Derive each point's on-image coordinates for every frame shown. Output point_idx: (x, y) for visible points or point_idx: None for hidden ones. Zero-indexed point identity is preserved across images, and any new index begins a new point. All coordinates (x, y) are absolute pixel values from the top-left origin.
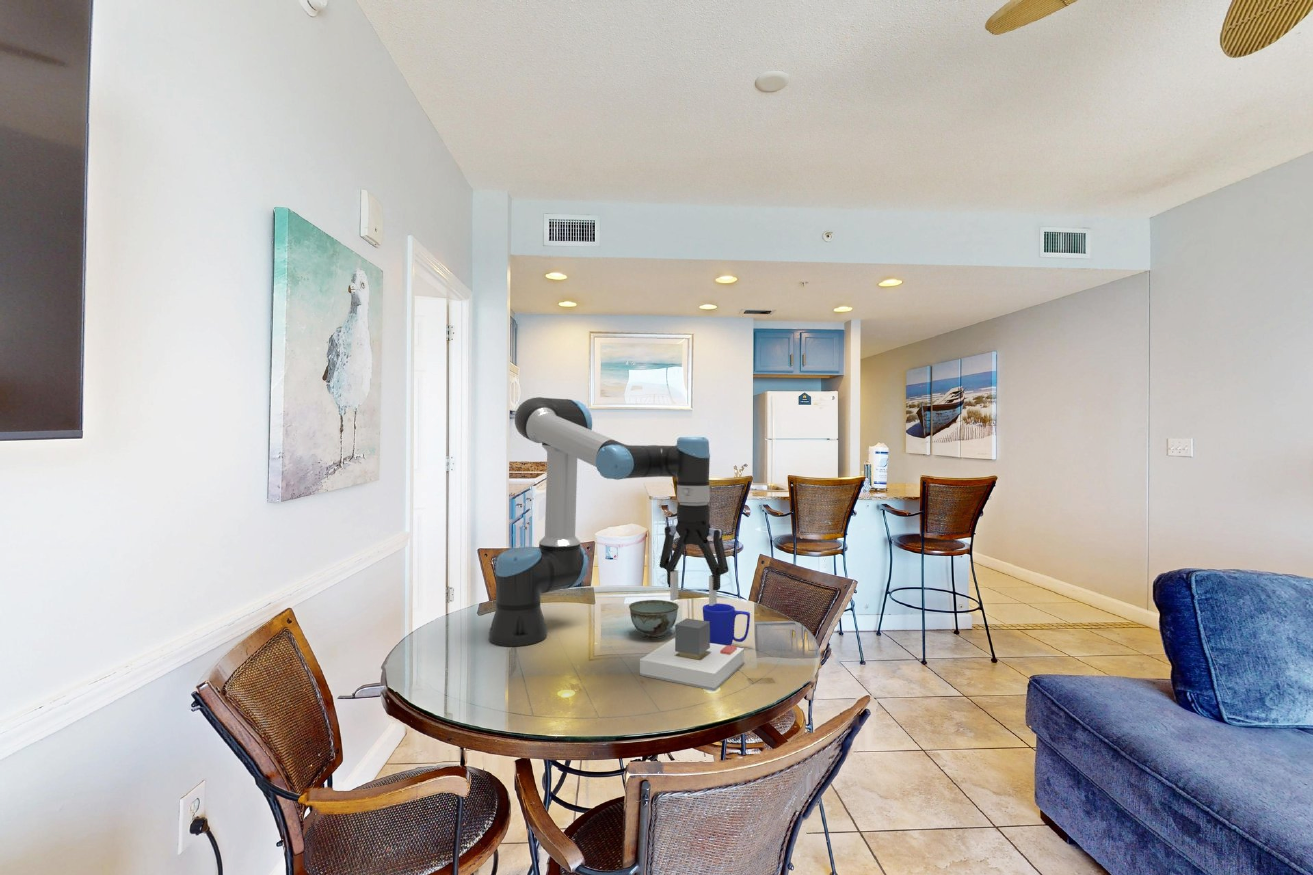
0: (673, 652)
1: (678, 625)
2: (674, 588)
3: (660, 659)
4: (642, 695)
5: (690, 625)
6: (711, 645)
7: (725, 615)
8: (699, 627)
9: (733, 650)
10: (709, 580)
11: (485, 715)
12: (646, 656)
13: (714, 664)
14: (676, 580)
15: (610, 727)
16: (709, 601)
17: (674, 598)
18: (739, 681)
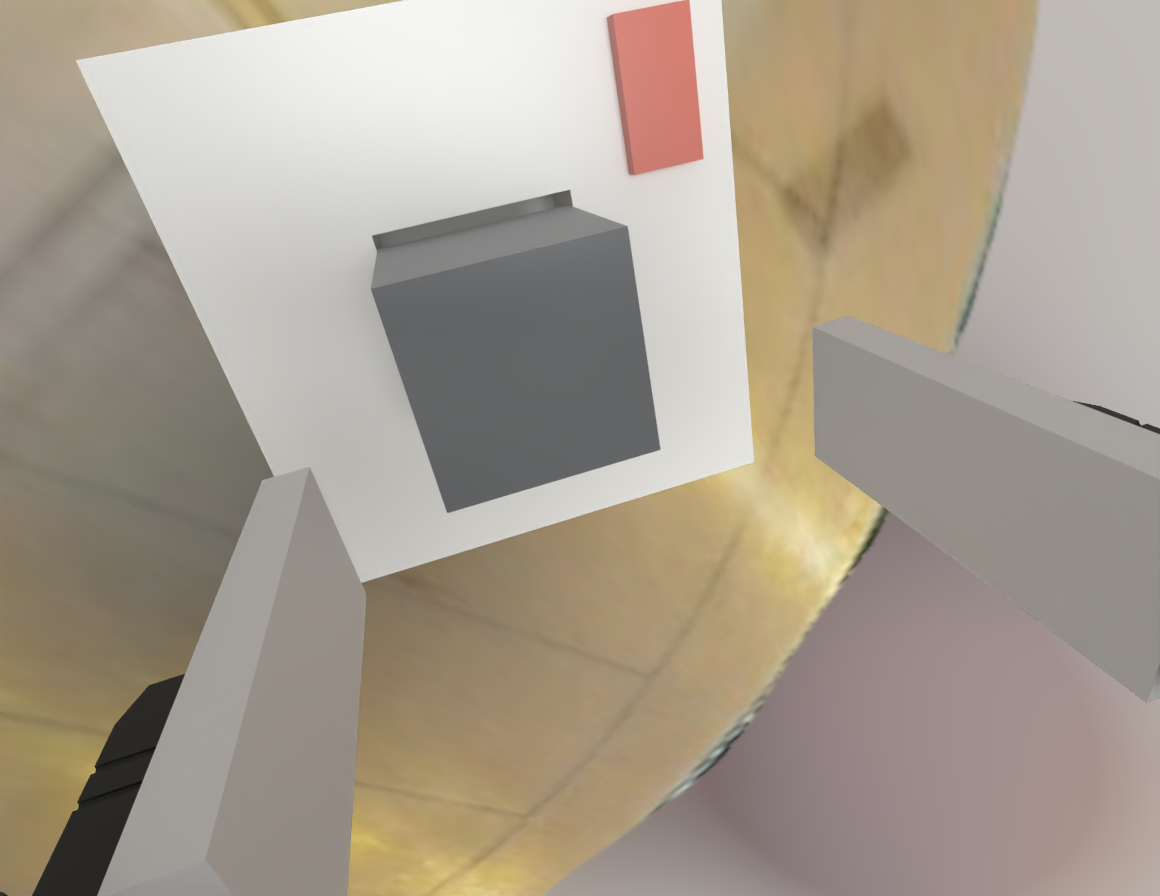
0: (381, 380)
1: (477, 502)
2: (345, 677)
3: (415, 515)
4: (515, 653)
5: (557, 438)
6: (481, 53)
7: None
8: (648, 430)
9: (694, 85)
10: (1076, 639)
11: None
12: None
13: (696, 366)
14: (298, 716)
15: (599, 817)
16: (845, 472)
17: (352, 577)
18: (764, 265)
